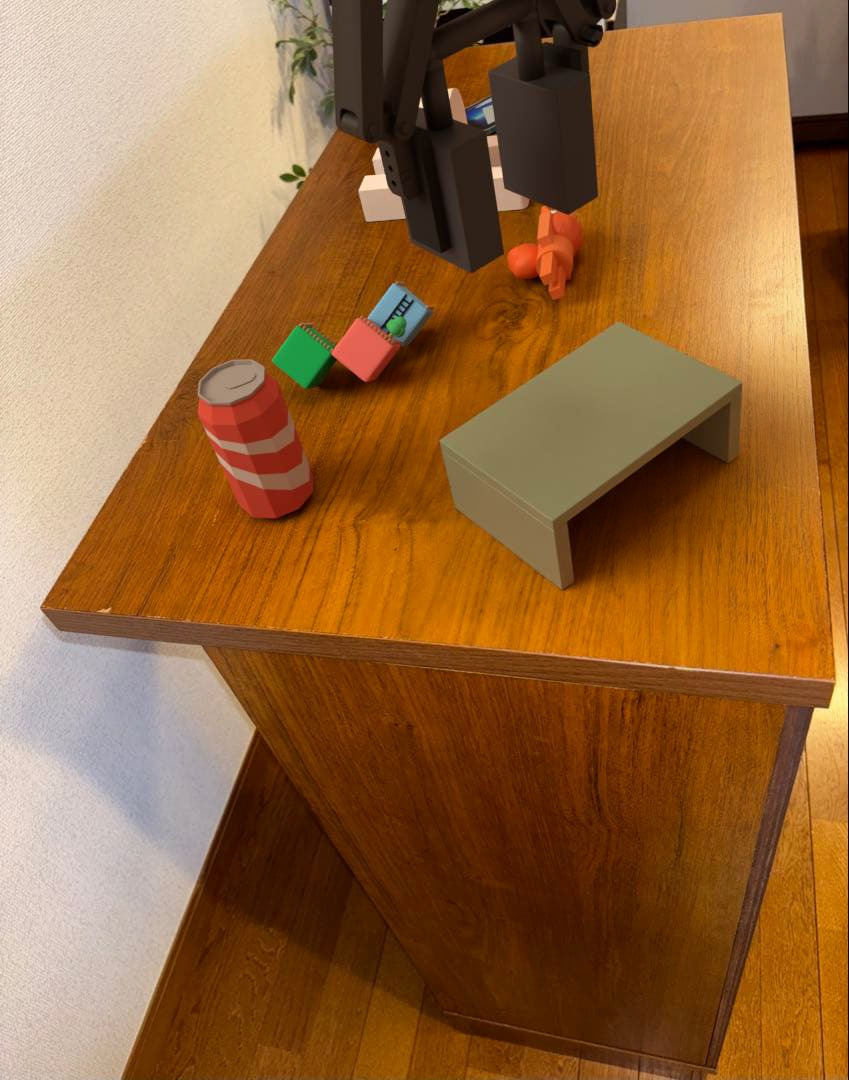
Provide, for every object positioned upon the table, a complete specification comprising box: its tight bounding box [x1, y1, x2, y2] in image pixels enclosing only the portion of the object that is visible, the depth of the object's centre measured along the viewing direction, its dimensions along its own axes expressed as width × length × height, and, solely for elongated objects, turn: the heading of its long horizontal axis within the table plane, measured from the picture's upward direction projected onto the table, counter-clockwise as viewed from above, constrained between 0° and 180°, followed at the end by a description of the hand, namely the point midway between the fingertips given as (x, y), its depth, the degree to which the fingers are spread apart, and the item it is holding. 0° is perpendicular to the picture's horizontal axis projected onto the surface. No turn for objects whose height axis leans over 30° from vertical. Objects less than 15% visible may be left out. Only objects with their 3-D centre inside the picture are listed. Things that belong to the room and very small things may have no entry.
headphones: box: [401, 0, 599, 274], centre depth 53 cm, size 6×10×11 cm, turn 128°
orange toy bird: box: [506, 205, 584, 301], centre depth 93 cm, size 5×8×12 cm
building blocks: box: [271, 280, 436, 390], centre depth 88 cm, size 8×8×12 cm
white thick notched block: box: [358, 87, 531, 223], centre depth 105 cm, size 18×10×11 cm, turn 80°
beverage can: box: [197, 358, 314, 519], centre depth 76 cm, size 6×6×12 cm
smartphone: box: [464, 94, 496, 136], centre depth 121 cm, size 7×1×15 cm
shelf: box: [439, 320, 743, 591], centre depth 72 cm, size 12×18×7 cm, turn 128°
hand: (501, 201), depth 56 cm, fingers closed on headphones, 10 cm apart
